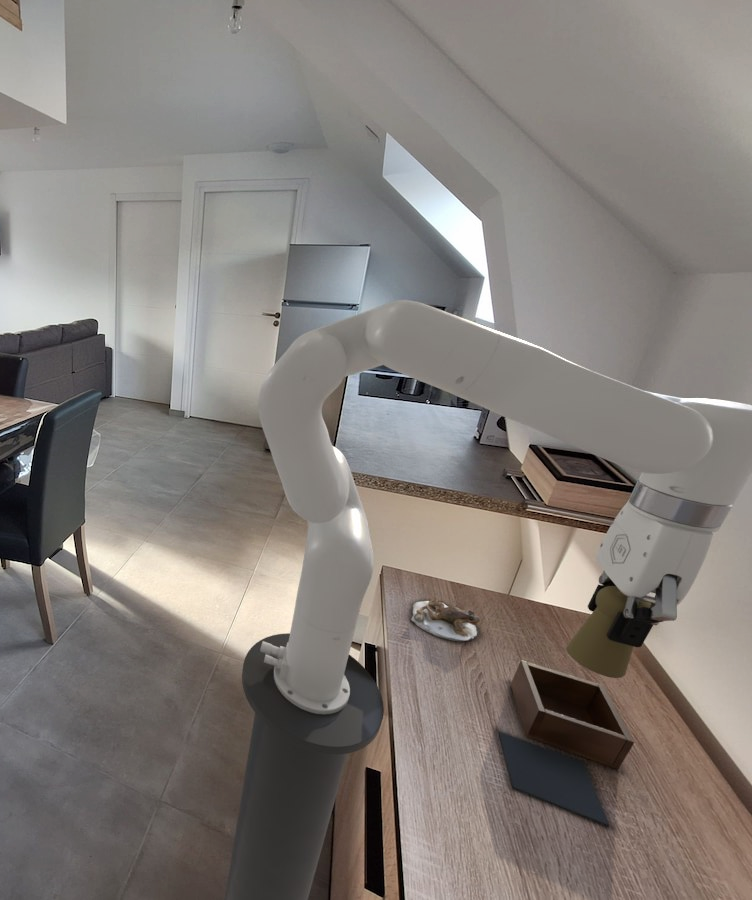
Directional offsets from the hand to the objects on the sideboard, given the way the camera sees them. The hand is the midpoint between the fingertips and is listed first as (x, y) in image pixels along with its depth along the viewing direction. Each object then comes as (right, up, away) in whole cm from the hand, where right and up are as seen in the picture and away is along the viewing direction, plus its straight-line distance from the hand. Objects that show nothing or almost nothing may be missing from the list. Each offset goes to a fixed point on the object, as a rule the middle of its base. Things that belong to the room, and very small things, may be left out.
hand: (612, 625), depth 59 cm
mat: (-5, -22, +3) cm, 23 cm away
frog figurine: (-2, -12, +32) cm, 34 cm away
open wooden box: (+3, -20, +11) cm, 23 cm away
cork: (0, -6, +2) cm, 6 cm away
